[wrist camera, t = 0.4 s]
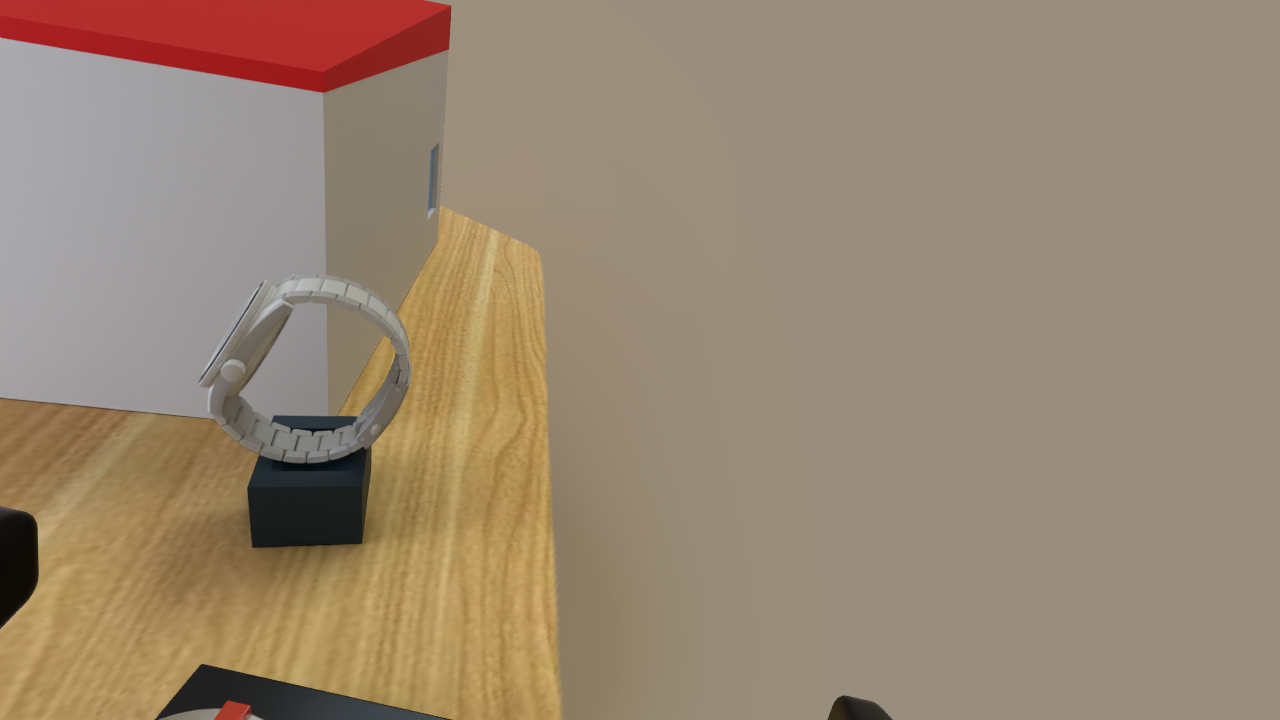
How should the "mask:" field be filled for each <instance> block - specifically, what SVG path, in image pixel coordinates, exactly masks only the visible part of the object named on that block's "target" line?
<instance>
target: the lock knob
mask: <svg viewBox="0 0 1280 720" xmlns="http://www.w3.org/2000/svg"><path fill="white" fill-rule="evenodd" d="M159 720H264V719H262V718H260V717H258V716H256V715H253V714H251V706H250V705H246V704H241V703H237V702H232V701H227V702H226V703H225V705H224V706H223V707H222V708H211V709H199V710H193V711H186V712H182V713H178V714H175V715H171V716H168V717H165V718H162V719H159Z"/></svg>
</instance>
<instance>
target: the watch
mask: <svg viewBox="0 0 1280 720" xmlns="http://www.w3.org/2000/svg"><path fill="white" fill-rule="evenodd" d="M341 280H342V282H341ZM363 288H364V287H363V286H362V285H360V284H358V283H356V282H353V281H351V280H348V279H341V278H340V277H336V276H331V275H323V274H320V275H319V276H318V275H317V274H299V275H295V274H293V275H291V276H290V277H288V278H286V279H284V280H283V281H281V282H280V283H278V284H276V285H275V286H273V285H272V282H270V281H268V280H265V281H263V282H262V283H261V285H260V286H259V287H258V288H257V289H256V290H255V291H254V292H253V294H252V295H251V297H250V298H249V300H248V301H247V303H246V304H245V306H244V307H243V309H242V310H241V312H240V313H239V315H238V316H237V318H236V319H235V321H234V322H233V324H232V325H231V327H230V329H229V330H228V332H227V333H226V335H225V336H224V338H223V340H222V341H221V343H220V344H219V346H218V347H217V349H216V351H215V352H214V354H213V356H212V357H211V359H210V360H209V362H208V364H207V366H206V367H205V369H204V371H203V373H202V376H201V378H200V381H199V384H198V386H199V387H201V388H203V389H205V388H206V387H208V388H209V394H208V411H209V412H210V413H211V414H212V416H213V417H214V419H215V420H216V421H217V422H218V424H219V425H222V429H223V430H224V431H225V432H226V433H227V434H228V435H229V436H230V437H231V438H233V439H234V440H235V441H239V444H240V445H242V446H243V447H245V448H247V449H249V450H251V451H253V452H255V453H259V452H260V453H259V457H258V460H257V463H256V465H255V468H254V471H253V474H252V476H251V479H250V482H249V485H248V487H247V489H248V501H249V513H250V526H251V538H252V547H275V546H303V545H331V544H359V543H362V538H363V530H364V522H365V515H366V507H367V499H368V491H369V483H370V475H371V445H372V444H373V443H374V442H375V440H376V439H377V438H378V437H379V436H380V435H381V434H382V433H383V431H384V430H385V429H386V428H387V426H388V425H389V424H390V422H391V421H392V420H393V418H394V416H395V415H396V413H397V411H398V409H399V408H400V406H401V404H402V402H403V399H404V397H405V395H406V392H407V390H408V387H409V384H410V377H411V362H409V341H408V337H407V335H406V330H405V328H404V326H403V323H402V322H401V320H400V318H399V317H397V314H396V313H395V311H394V310H393V309H392V308H391V307H390V306H389V305H388V304H387V303H386V302H385V301H383V300H382V298H381V297H379V296H378V295H377V294H376V293H374V292H373V291H371V290H369V289H368V288H364V290H363ZM345 292H346V295H345ZM310 298H311V301H312V302H313V303H317V304H327V305H333V304H334V303H335V301H336V303H335V304H336V306H337V307H340V308H343V309H346V310H349V311H351V312H356V311H358V314H359V315H360V316H361V317H363V318H365V319H366V320H368V321H369V322H371V323H372V324H376V323H377V328H378V329H380V330H381V331H382V332H383V333H384V334H385V336H386V337H387V338H391V344H392V345H393V347H394V349H395V351H396V353H395V359H394V362H393V364H392V366H391V369H390V371H389V373H388V375H387V377H386V379H385V381H384V383H383V385H382V386H381V388H380V389H379V391H378V392H377V394H376V395H375V396H374V397H373V399H372V400H371V401H370V402H369V403H368V405H367V406H366V407H365V408H364V409H363V410H362V412H361V415H360V416H358V417H353V416H286V415H274V416H273V419H272V422H271V424H270V420H269V419H268V418H266V417H264V416H263V415H261V414H260V413H258V412H257V411H254V412H252V411H253V408H252V407H251V406H250V405H249V404H248V403H247V402H246V401H245V399H244V398H243V397H238V396H239V392H240V391H242V390H243V389H244V388H245V386H246V385H247V384H248V383H249V381H250V380H251V378H252V377H253V376H254V374H255V373H256V371H257V370H258V368H259V367H260V365H261V364H262V362H263V361H264V359H265V358H266V356H267V355H268V353H269V351H270V350H271V348H272V347H273V345H274V343H275V342H276V340H277V338H278V337H279V335H280V333H281V331H282V330H283V328H284V326H285V324H286V322H287V320H288V318H289V317H290V314H291V312H292V310H293V308H294V305H293V304H296V303H308V302H309V301H310ZM382 301H383V302H382ZM269 425H270V426H269Z"/></svg>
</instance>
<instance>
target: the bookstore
mask: <svg viewBox="0 0 1280 720" xmlns="http://www.w3.org/2000/svg"><path fill="white" fill-rule="evenodd" d="M450 21H451V6H450V5H445V4H440V3H435V2H429V1H424V0H0V398H9V399H19V400H29V401H39V402H49V403H59V404H69V405H79V406H89V407H99V408H109V409H119V410H129V411H139V412H149V413H159V414H169V415H179V416H189V417H199V418H209V419H214V417H213V416H212V414H211V413H210V412H209V411H208V394H209V388H208V387H206V388H205V389H203V388H201V387H199V386H198V384H199V381H200V378H201V376H202V373H203V371H204V369H205V367H206V366H207V364H208V362H209V360H210V359H211V357H212V356H213V354H214V352H215V351H216V349H217V347H218V346H219V344H220V343H221V341H222V340H223V338H224V336H225V335H226V333H227V332H228V330H229V329H230V327H231V325H232V324H233V322H234V321H235V319H236V318H237V316H238V315H239V313H240V312H241V310H242V309H243V307H244V306H245V304H246V303H247V301H248V300H249V298H250V297H251V295H252V294H253V292H254V291H255V290H256V289H257V288H258V287H259V286H260V285H261V283H262V282H263V281H265V280H268V281H270V282H272V285H273V286H275V285H276V284H278V283H280V282H281V281H283V280H284V279H286V278H288V277H290V276H291V275H293V274H295V275H299V274H317V275H318V276H319V275H320V274H323V275H331V276H336V277H340V278H341V279H348V280H351V281H353V282H356V283H358V284H360V285H362V286H363V287H364V288H368V289H369V290H371V291H373V292H374V293H376V294H377V295H378V296H379V297H381V298H382V300H383V301H385V302H386V303H387V304H388V305H389V306H390V307H391V308H392V309H393V310H394V311H395V313H397V311H398V309H399V307H400V306H401V304H402V302H403V300H404V299H405V297H406V295H407V293H408V292H409V290H410V288H411V286H412V285H413V283H414V281H415V279H416V278H417V276H418V274H419V273H420V271H421V269H422V267H423V266H424V264H425V262H426V260H427V259H428V257H429V255H430V253H431V252H432V250H433V248H434V246H435V245H436V243H437V241H438V230H439V212H440V192H441V174H442V156H443V138H444V121H445V101H446V84H447V66H448V50H449V38H450ZM341 282H342V280H341ZM364 288H363V290H364ZM345 295H346V292H345ZM383 301H382V302H383ZM335 303H336V301H335ZM335 303H334V304H333V305H327V304H317V303H313V302H312V301H311V298H310V301H309V302H308V303H296V304H293V305H294V308H293V310H292V312H291V314H290V317H289V318H288V320H287V322H286V324H285V326H284V328H283V330H282V331H281V333H280V335H279V337H278V338H277V340H276V342H275V343H274V345H273V347H272V348H271V350H270V351H269V353H268V355H267V356H266V358H265V359H264V361H263V362H262V364H261V365H260V367H259V368H258V370H257V371H256V373H255V374H254V376H253V377H252V378H251V380H250V381H249V383H248V384H247V385H246V386H245V388H244V389H243V390H242V391H240V392H239V396H238V397H243V398H244V399H245V401H246V402H247V403H248V404H249V405H250V406H251V407H252V408H253V411H252V412H254V411H257V412H258V413H260V414H261V415H263V416H264V417H266V418H268V419H269V420H270V424H271V422H272V419H273V416H274V415H286V416H337V415H338V413H339V412H340V410H341V408H342V406H343V405H344V403H345V401H346V399H347V398H348V396H349V394H350V393H351V391H352V389H353V387H354V386H355V384H356V382H357V380H358V379H359V377H360V375H361V373H362V372H363V370H364V368H365V366H366V365H367V363H368V361H369V359H370V358H371V356H372V354H373V353H374V351H375V349H376V347H377V346H378V344H379V342H380V340H381V339H382V337H383V335H384V333H383V332H382V331H381V330H380V329H378V328H377V323H376V324H372V323H371V322H369V321H368V320H366V319H365V318H363V317H361V316H360V315H359V314H358V311H356V312H351V311H349V310H346V309H343V308H340V307H337V306H336V304H335Z"/></svg>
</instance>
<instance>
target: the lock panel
mask: <svg viewBox="0 0 1280 720" xmlns="http://www.w3.org/2000/svg"><path fill="white" fill-rule="evenodd" d="M227 701H232V702H237V703H241V704H246V705H250V706H251V714H253V715H256V716H258V717H260V718H262V719H264V720H451V719H446V718H442V717H438V716H433V715H429V714H424V713H420V712H415V711H411V710H406V709H402V708H397V707H393V706H388V705H384V704H379V703H375V702H370V701H366V700H361V699H357V698H353V697H348V696H344V695H339V694H335V693H330V692H326V691H321V690H317V689H312V688H308V687H303V686H299V685H294V684H290V683H285V682H281V681H276V680H272V679H267V678H263V677H259V676H254V675H250V674H245V673H241V672H236V671H232V670H227V669H223V668H218V667H214V666H209V665H205V664H201V665H200V666H199V667H198V668H197V670H196V671H195V672H194V673H193V674H192V676H191V677H190V678H189V679H188V680H187V682H186V683H185V684H184V685H183V686H182V688H181V689H180V690H179V691H178V692H177V694H176V695H175V696H174V697H173V698H172V700H171V701H170V702H169V703H168V704H167V706H166V707H165V708H164V709H163V710H162V712H161V713H160V714H159V715H158V716H157V718H156V719H155V720H159V719H162V718H165V717H168V716H171V715H175V714H178V713H182V712H186V711H193V710H199V709H211V708H222V707H223V706H224V705H225V703H226V702H227Z"/></svg>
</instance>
